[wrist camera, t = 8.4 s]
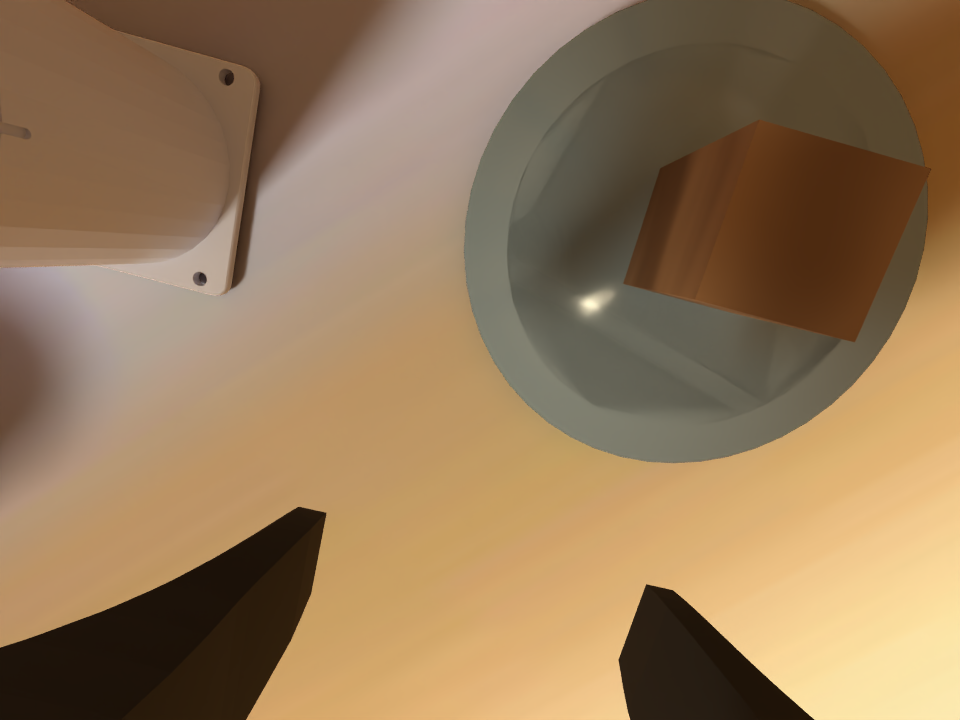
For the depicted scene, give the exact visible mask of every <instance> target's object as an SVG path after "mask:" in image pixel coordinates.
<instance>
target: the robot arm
mask: <svg viewBox="0 0 960 720" xmlns="http://www.w3.org/2000/svg"><path fill="white" fill-rule="evenodd" d="M229 73H233V74H234V81H233V83H232V84H231V85H229V86H227V85H226V84H225V77H226V75H227V74H229ZM259 93H260V81H259V79H258V77H257V75H256V74H255V73H254V72H253V71H252V70H250V69H249V68H247V67H245V66H242V65H239V64H235V63H232V62H228V61H224V60H221V59H217V58H214V57H210V56H207V55H203V54H199V53H196V52H192V51H189V50H185V49H182V48H178V47H174V46H171V45H167V44H164V43H160V42H157V41H153V40H149V39H146V38H142V37H139V36H135V35H132V34H128V33H124V32H121V31H117V30H114V29H111V28H110V27H108V26H106V25H105V24H103V23H101V22H100V21H98V20H97V19H95V18H93V17H92V16H90V15H88V14H87V13H85V12H83V11H82V10H80V9H78V8H77V7H75V6H73V5H72V4H70V3H68V2H67V1H65V0H0V268H13V267H47V266H82V265H96V266H100V267H104V268H108V269H112V270H116V271H120V272H124V273H127V274H131V275H135V276H139V277H143V278H147V279H151V280H155V281H158V282H162V283H166V284H170V285H174V286H178V287H182V288H186V289H189V290H193V291H197V292H201V293H205V294H209V295H215V296H218V295H223V294H226V293H227V292H228V291H229V290H230V288H231V285H232V278H233V271H234V264H235V257H236V251H237V244H238V237H239V230H240V223H241V216H242V210H243V203H244V196H245V189H246V182H247V175H248V168H249V162H250V155H251V148H252V141H253V134H254V127H255V121H256V114H257V107H258V100H259ZM200 273H204V274H205V275H206V277H207V282H206V284H205V285H204V284H202V283H201V282H200V280H199V275H200ZM325 518H326V513H324V512H320V511H315V510H311V509H306V508H302V507H298V508H296V509H294V510H292V511H291V512H289V513H287V514H286V515H284V516H283V517H281V518H279V519H278V520H276V521H275V522H273V523H271V524H270V525H268V526H267V527H265V528H264V529H262V530H260V531H259V532H257V533H256V534H254V535H252V536H251V537H249V538H247V539H246V540H244V541H242V542H241V543H239V544H237V545H236V546H234V547H232V548H231V549H229V550H227V551H226V552H224V553H222V554H220V555H219V556H217V557H215V558H213V559H212V560H210V561H208V562H206V563H204V564H202V565H200V566H199V567H197V568H195V569H193V570H191V571H189V572H187V573H185V574H184V575H182V576H180V577H178V578H176V579H174V580H172V581H170V582H168V583H166V584H164V585H162V586H159V587H157V588H155V589H153V590H151V591H149V592H146V593H144V594H142V595H140V596H137V597H135V598H133V599H130V600H128V601H126V602H124V603H121V604H119V605H117V606H114V607H112V608H109V609H107V610H105V611H102V612H99V613H97V614H94V615H91V616H89V617H86V618H83V619H81V620H78V621H75V622H72V623H70V624H67V625H64V626H62V627H59V628H56V629H54V630H51V631H48V632H46V633H43V634H40V635H38V636H35V637H32V638H29V639H26V640H23V641H20V642H17V643H14V644H10V645H7V646H4V647H1V648H0V720H246V719H247V717H248V715H249V713H250V712H251V710H252V708H253V706H254V705H255V703H256V701H257V699H258V698H259V696H260V694H261V692H262V691H263V689H264V687H265V685H266V684H267V682H268V680H269V678H270V677H271V675H272V673H273V671H274V669H275V668H276V666H277V664H278V662H279V661H280V659H281V657H282V655H283V653H284V652H285V650H286V648H287V646H288V644H289V643H290V641H291V639H292V637H293V634H294V632H295V630H296V627H297V625H298V623H299V621H300V618H301V616H302V614H303V611H304V609H305V607H306V604H307V602H308V600H309V597H310V595H311V591H312V586H313V581H314V576H315V570H316V565H317V560H318V555H319V549H320V544H321V539H322V534H323V528H324V523H325ZM619 665H620V671H621V677H622V683H623V689H624V694H625V699H626V704H627V709H628V713H629V716H630V720H814V719H813V718H812V717H811V716H809V715H808V714H807V713H806V712H805V711H804V710H803V709H802V708H800V707H799V706H798V705H797V704H796V703H795V702H794V701H792V700H791V699H790V698H789V697H788V696H787V695H786V694H784V693H783V692H782V691H781V690H780V689H779V688H778V687H777V686H776V685H774V684H773V683H772V682H771V681H770V680H769V679H768V678H767V677H766V676H765V675H764V674H762V673H761V672H760V671H759V670H758V669H757V668H756V667H755V666H754V665H753V664H752V663H751V662H750V661H749V660H748V659H746V658H745V657H744V656H743V655H742V654H741V653H740V652H739V651H738V650H737V649H736V648H735V647H734V646H733V645H732V644H731V643H730V642H729V641H728V640H727V639H725V638H724V637H723V636H722V635H721V634H720V633H719V632H718V631H717V630H716V629H715V628H714V627H713V626H712V625H711V624H710V623H709V622H708V621H707V620H706V619H705V618H704V617H702V616H701V615H700V614H699V613H698V612H697V611H696V610H695V609H694V608H693V607H692V606H691V605H689V604H688V603H687V602H686V601H685V600H684V599H683V598H682V597H680V596H679V595H678V594H677V593H675V592H674V591H673V590H669V589H665V588H660V587H656V586H651V585H647V584H646V587H645V589H644V592H643V595H642V598H641V600H640V603H639V606H638V608H637V611H636V614H635V617H634V619H633V622H632V625H631V628H630V630H629V633H628V636H627V638H626V641H625V644H624V647H623V649H622V652H621V655H620V658H619Z"/></svg>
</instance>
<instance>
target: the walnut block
mask: <svg viewBox="0 0 960 720" xmlns="http://www.w3.org/2000/svg"><path fill="white" fill-rule="evenodd" d="M930 170H931V169H930V168H927V167H923V166H920V165H916V164H913V163H909V162H906V161H902V160H899V159H896V158H892V157H889V156H885V155H882V154H878V153H875V152H871V151H868V150H864V149H861V148H857V147H854V146H850V145H847V144H843V143H840V142H836V141H833V140H829V139H826V138H822V137H819V136H815V135H812V134H808V133H805V132H801V131H798V130H794V129H791V128H787V127H784V126H780V125H777V124H773V123H770V122H766V121H763V120H757V121H755V122H753V123H751V124H749V125H747V126H745V127H743V128H741V129H739V130H737V131H735V132H733V133H731V134H729V135H727V136H725V137H723V138H721V139H719V140H717V141H715V142H713V143H710V144H708V145H706V146H704V147H702V148H700V149H698V150H696V151H694V152H692V153H690V154H688V155H686V156H684V157H682V158H680V159H678V160H676V161H674V162H672V163H670V164H668V165H666V166H664V167H662V168H660V170H659V174H658V177H657V180H656V183H655V186H654V189H653V192H652V195H651V198H650V202H649V205H648V208H647V211H646V214H645V217H644V220H643V223H642V226H641V230H640V233H639V236H638V239H637V242H636V245H635V248H634V251H633V254H632V257H631V261H630V264H629V267H628V270H627V273H626V276H625V279H624V282H623V284H625V285H629V286H632V287H636V288H640V289H644V290H647V291H651V292H655V293H659V294H662V295H666V296H670V297H674V298H677V299H681V300H685V301H689V302H692V303H696V304H700V305H704V306H707V307H711V308H715V309H719V310H722V311H726V312H730V313H734V314H738V315H743V316H747V317H751V318H755V319H759V320H763V321H768V322H772V323H776V324H780V325H784V326H788V327H793V328H797V329H801V330H805V331H809V332H814V333H818V334H822V335H826V336H830V337H834V338H839V339H843V340H847V341H851V342H855V341H856V339H857V337H858V334H859V332H860V330H861V328H862V325H863V323H864V321H865V319H866V316H867V314H868V312H869V309H870V307H871V305H872V303H873V300H874V298H875V296H876V293H877V291H878V289H879V287H880V284H881V282H882V280H883V278H884V275H885V273H886V271H887V268H888V266H889V264H890V262H891V259H892V257H893V255H894V252H895V250H896V248H897V246H898V243H899V241H900V239H901V236H902V234H903V232H904V230H905V227H906V225H907V223H908V221H909V218H910V216H911V214H912V211H913V209H914V207H915V205H916V202H917V200H918V198H919V195H920V193H921V191H922V189H923V186H924V184H925V182H926V179H927V177H928V175H929V173H930Z"/></svg>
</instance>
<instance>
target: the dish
mask: <svg viewBox="0 0 960 720" xmlns="http://www.w3.org/2000/svg"><path fill="white" fill-rule="evenodd" d="M757 120H763V121H766V122H770V123H773V124H777V125H780V126H784V127H787V128H791V129H794V130H798V131H801V132H805V133H808V134H812V135H815V136H819V137H822V138H826V139H829V140H833V141H836V142H840V143H843V144H847V145H850V146H854V147H857V148H861V149H864V150H868V151H871V152H875V153H878V154H882V155H885V156H889V157H892V158H896V159H899V160H902V161H906V162H909V163H913V164H916V165H920V166H923V167H925V164H924V157H923V153H922V149H921V146H920V142H919V139H918V135H917V132H916V128H915V125H914V123H913V120H912V118H911V116H910V114H909V111H908V109H907V107H906V105H905V103H904V100H903V98H902V96H901V94H900V93H899V91H898V90H897V88H896V87H895V85H894V84H893V82H892V81H891V79H890V77H889V76H888V74H887V73H886V71H885V70H884V69H883V67H882V66H881V65H880V64H879V63H878V62H877V61H876V60H875V58H874V57H873V56H872V55H871V54H870V53H869V52H868V51H867V50H866V48H865V47H864V46H863V45H861V44H860V43H859V42H858V41H857V40H855V39H854V38H853V37H852V36H850V35H849V34H848V33H847V32H846V31H844V30H843V29H842V28H841V27H840V26H838V25H836V24H835V23H833V22H831V21H829V20H828V19H826V18H824V17H823V16H821V15H819V14H817V13H816V12H814V11H812V10H810V9H808V8H805V7H803V6H800V5H797V4H795V3H792V2H790V1H787V0H647V1H644V2H642V3H639V4H637V5H634V6H631V7H629V8H626V9H624V10H621V11H619V12H616V13H614V14H613V15H611V16H609V17H607V18H605V19H604V20H602V21H600V22H598V23H596V24H595V25H593V26H591V27H589V28H587V29H586V30H584V31H583V32H582V33H580V34H579V35H578V36H576V37H575V38H574V39H572V40H571V41H570V42H568V43H567V44H566V45H564V46H563V47H561V48H560V49H559V50H558V51H557V52H556V53H555V54H554V55H552V56H551V57H550V58H549V59H548V60H547V61H546V62H545V63H544V64H543V65H542V66H541V67H540V68H539V69H538V70H537V71H536V72H535V73H534V74H533V75H532V76H531V78H530V79H529V80H528V81H527V83H526V84H525V85H524V86H523V88H522V89H521V90H520V91H519V93H518V94H517V95H516V96H515V97H514V99H513V100H512V102H511V103H510V105H509V106H508V108H507V110H506V111H505V113H504V115H503V116H502V118H501V119H500V121H499V123H498V124H497V126H496V128H495V129H494V131H493V134H492V136H491V138H490V140H489V142H488V145H487V147H486V149H485V151H484V153H483V156H482V158H481V160H480V164H479V167H478V170H477V173H476V176H475V180H474V183H473V186H472V189H471V194H470V200H469V205H468V211H467V216H466V224H465V244H464V258H465V271H466V283H467V287H468V292H469V297H470V302H471V307H472V311H473V314H474V317H475V320H476V323H477V325H478V328H479V331H480V334H481V337H482V339H483V341H484V343H485V345H486V347H487V349H488V351H489V353H490V355H491V357H492V359H493V361H494V363H495V364H496V366H497V367H498V369H499V370H500V372H501V373H502V374H503V376H504V377H505V379H506V380H507V382H508V383H509V385H510V386H511V387H512V388H513V389H514V390H515V391H516V393H517V394H518V395H519V396H520V397H521V398H522V399H523V400H524V401H525V403H526V404H527V405H528V406H529V407H531V408H532V409H533V410H534V411H535V412H536V413H538V414H539V415H540V416H541V417H542V418H544V419H545V420H546V421H547V422H548V423H550V424H551V425H553V426H554V427H556V428H557V429H559V430H561V431H562V432H564V433H565V434H567V435H568V436H570V437H572V438H574V439H576V440H578V441H580V442H582V443H584V444H587V445H589V446H591V447H593V448H595V449H598V450H601V451H604V452H608V453H611V454H614V455H617V456H620V457H625V458H631V459H636V460H641V461H647V462H663V463H685V462H701V461H707V460H712V459H718V458H723V457H729V456H732V455H735V454H739V453H742V452H745V451H748V450H752V449H755V448H757V447H760V446H762V445H764V444H767V443H769V442H771V441H774V440H776V439H778V438H781V437H783V436H784V435H786V434H788V433H790V432H791V431H793V430H795V429H796V428H798V427H800V426H802V425H803V424H805V423H807V422H808V421H810V420H811V419H812V418H814V417H815V416H816V415H818V414H819V413H821V412H822V411H823V410H825V409H826V408H827V407H829V406H830V405H831V404H832V403H834V402H835V401H836V400H837V399H838V398H839V397H840V396H841V395H842V394H843V393H844V392H845V391H847V390H848V389H849V388H850V387H851V386H852V385H853V384H854V383H855V382H856V380H857V379H858V378H859V377H860V376H861V375H862V374H863V372H864V371H865V370H866V369H867V368H868V367H869V365H870V364H871V363H872V362H873V361H874V359H875V358H876V356H877V355H878V353H879V352H880V350H881V349H882V348H883V346H884V345H885V343H886V342H887V340H888V339H889V337H890V336H891V334H892V332H893V330H894V328H895V326H896V324H897V323H898V321H899V319H900V317H901V315H902V313H903V311H904V309H905V307H906V304H907V302H908V299H909V297H910V294H911V292H912V289H913V286H914V284H915V281H916V278H917V274H918V270H919V266H920V262H921V258H922V255H923V251H924V244H925V236H926V228H927V220H928V186H927V179H926V182H925V184H924V186H923V189H922V191H921V193H920V195H919V198H918V200H917V202H916V205H915V207H914V209H913V211H912V214H911V216H910V218H909V221H908V223H907V225H906V227H905V230H904V232H903V234H902V236H901V239H900V241H899V243H898V246H897V248H896V250H895V252H894V255H893V257H892V259H891V262H890V264H889V266H888V268H887V271H886V273H885V275H884V278H883V280H882V282H881V284H880V287H879V289H878V291H877V293H876V296H875V298H874V300H873V303H872V305H871V307H870V309H869V312H868V314H867V316H866V319H865V321H864V323H863V325H862V328H861V330H860V332H859V334H858V337H857V339H856V341H855V342H851V341H847V340H843V339H839V338H834V337H830V336H826V335H822V334H818V333H814V332H809V331H805V330H801V329H797V328H793V327H788V326H784V325H780V324H776V323H772V322H768V321H763V320H759V319H755V318H751V317H747V316H743V315H738V314H734V313H730V312H726V311H722V310H719V309H715V308H711V307H707V306H704V305H700V304H696V303H692V302H689V301H685V300H681V299H677V298H674V297H670V296H666V295H662V294H659V293H655V292H651V291H647V290H644V289H640V288H636V287H632V286H629V285H625V284H623V282H624V279H625V276H626V273H627V270H628V267H629V264H630V261H631V257H632V254H633V251H634V248H635V245H636V242H637V239H638V236H639V233H640V230H641V226H642V223H643V220H644V217H645V214H646V211H647V208H648V205H649V202H650V198H651V195H652V192H653V189H654V186H655V183H656V180H657V177H658V174H659V170H660V168H662V167H664V166H666V165H668V164H670V163H672V162H674V161H676V160H678V159H680V158H682V157H684V156H686V155H688V154H690V153H692V152H694V151H696V150H698V149H700V148H702V147H704V146H706V145H708V144H710V143H713V142H715V141H717V140H719V139H721V138H723V137H725V136H727V135H729V134H731V133H733V132H735V131H737V130H739V129H741V128H743V127H745V126H747V125H749V124H751V123H753V122H755V121H757Z"/></svg>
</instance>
